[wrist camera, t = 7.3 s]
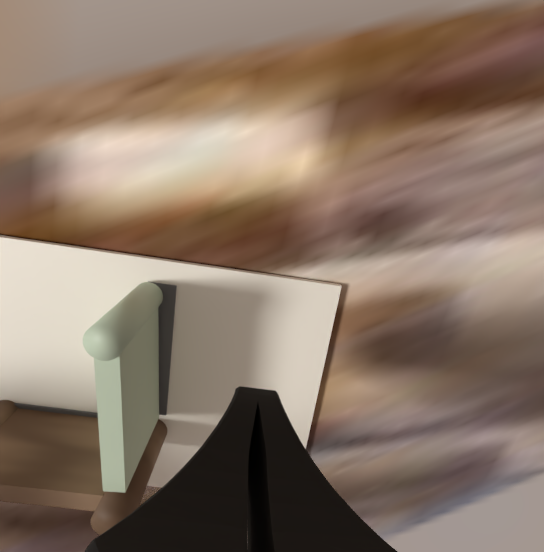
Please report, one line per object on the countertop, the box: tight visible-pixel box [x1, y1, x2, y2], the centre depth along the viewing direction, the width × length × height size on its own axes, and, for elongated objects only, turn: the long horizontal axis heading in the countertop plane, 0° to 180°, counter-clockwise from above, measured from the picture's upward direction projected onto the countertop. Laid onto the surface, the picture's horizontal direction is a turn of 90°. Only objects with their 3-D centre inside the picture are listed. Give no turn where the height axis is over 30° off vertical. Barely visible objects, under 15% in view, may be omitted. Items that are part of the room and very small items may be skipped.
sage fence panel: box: [83, 282, 163, 493], centre depth 13 cm, size 7×1×4 cm, turn 175°
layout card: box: [0, 235, 342, 488], centre depth 16 cm, size 15×12×1 cm
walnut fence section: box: [0, 400, 167, 535], centre depth 15 cm, size 8×1×5 cm, turn 81°
